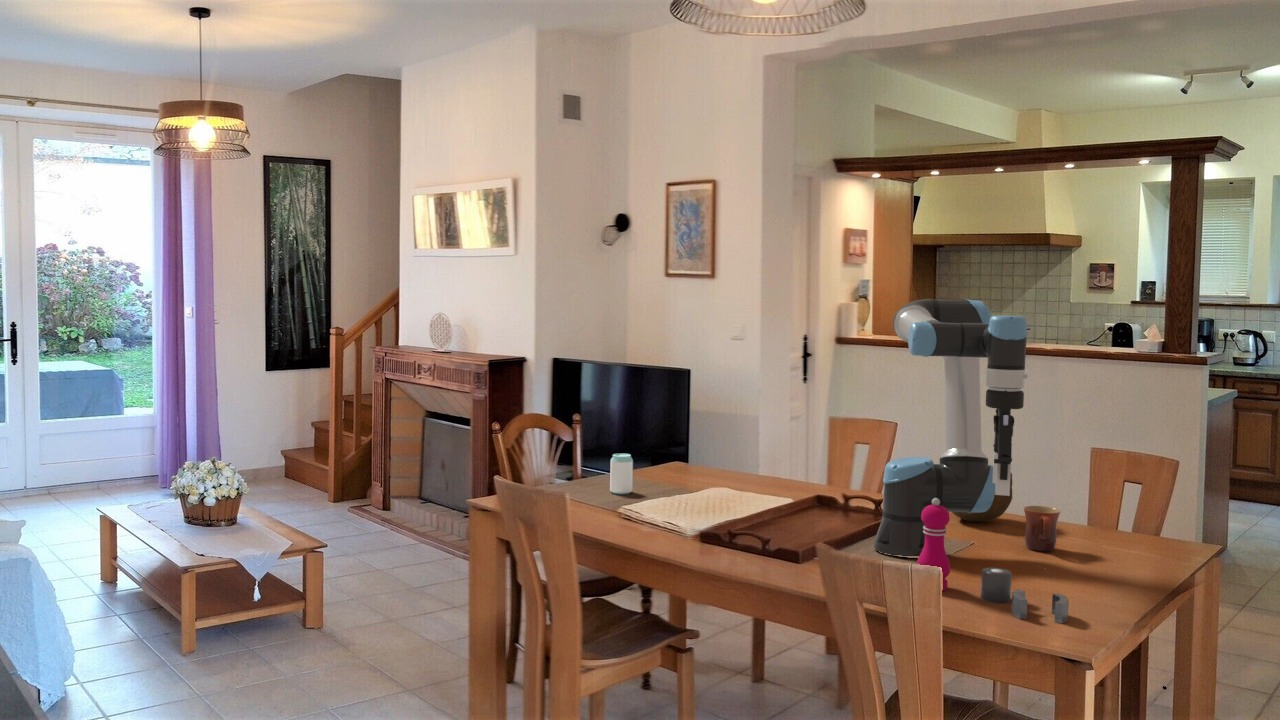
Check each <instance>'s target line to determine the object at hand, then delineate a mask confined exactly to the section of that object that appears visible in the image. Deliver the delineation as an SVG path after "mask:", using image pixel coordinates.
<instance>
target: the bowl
mask: <svg viewBox="0 0 1280 720" xmlns="http://www.w3.org/2000/svg"><path fill="white" fill-rule="evenodd" d="M995 492H996V490H995ZM1012 500H1013V473H1012V472H1011V474H1010V496H1005V495H994V499H993V502H992V505H991V507H990V508H989V509H988V510H987V511H985V512H972V513H968V512H951V513H952V514H953V515H954V516H956V517H957V518H960V519H961V520H964V521H968V522H972V523H984V522H990V521H993V520H995V519H997V518H1000V517H1001V516H1002V515H1003V514H1005V512H1006V511H1007V510H1008V509H1009V507H1010V505H1011V503H1012Z"/></svg>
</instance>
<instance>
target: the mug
mask: <svg viewBox="0 0 1280 720" xmlns="http://www.w3.org/2000/svg"><path fill="white" fill-rule="evenodd" d="M1023 511H1024V514H1025V516H1024V517H1025V533H1024V541H1025V547H1026V548H1028V550H1030V551H1031V550H1032V551H1034V552H1042V553H1048V552H1053V550H1055V548H1056V545H1057V527H1058V525H1057V524H1058V520H1059V517H1060V515H1061V513H1062V512H1061V510H1060V509H1058V508H1055V507H1053V506H1044V505H1027V506H1024V507H1023Z"/></svg>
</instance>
